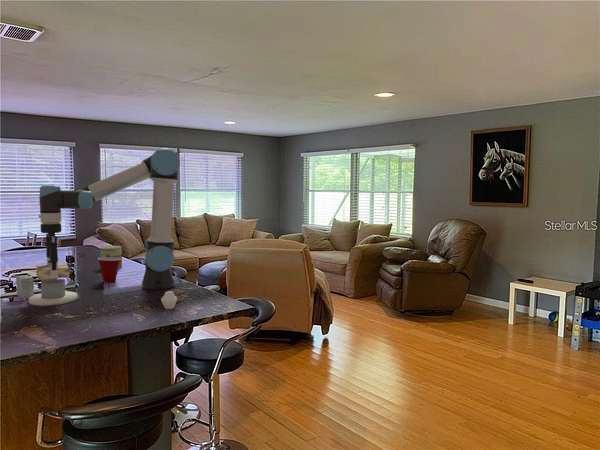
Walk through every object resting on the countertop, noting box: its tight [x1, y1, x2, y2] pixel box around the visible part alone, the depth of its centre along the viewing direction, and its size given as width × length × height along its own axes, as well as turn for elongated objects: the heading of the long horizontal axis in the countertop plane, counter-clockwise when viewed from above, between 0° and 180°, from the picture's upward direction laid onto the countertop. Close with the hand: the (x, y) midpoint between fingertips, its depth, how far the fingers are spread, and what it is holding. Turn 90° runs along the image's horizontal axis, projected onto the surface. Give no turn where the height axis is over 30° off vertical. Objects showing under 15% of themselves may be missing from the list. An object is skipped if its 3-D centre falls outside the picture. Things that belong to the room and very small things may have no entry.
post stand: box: [27, 278, 78, 307], centre depth 186 cm, size 18×18×14 cm
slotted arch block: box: [35, 262, 70, 281], centre depth 186 cm, size 11×11×4 cm
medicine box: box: [15, 274, 35, 300], centre depth 191 cm, size 8×4×9 cm, turn 47°
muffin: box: [160, 290, 178, 310], centre depth 178 cm, size 6×6×7 cm
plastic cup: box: [97, 257, 121, 284], centre depth 222 cm, size 11×11×12 cm
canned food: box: [100, 245, 123, 270], centre depth 258 cm, size 11×11×12 cm
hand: (52, 275), depth 186 cm, fingers closed on slotted arch block, 11 cm apart
